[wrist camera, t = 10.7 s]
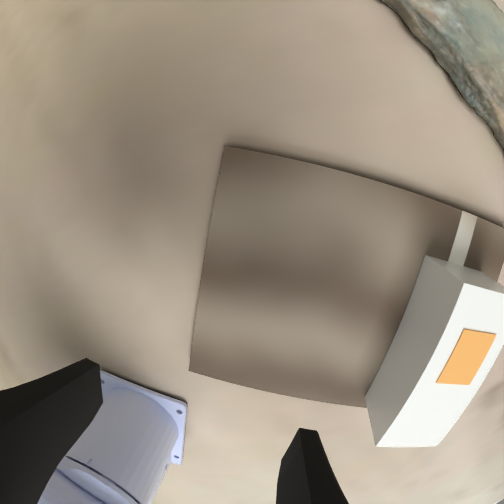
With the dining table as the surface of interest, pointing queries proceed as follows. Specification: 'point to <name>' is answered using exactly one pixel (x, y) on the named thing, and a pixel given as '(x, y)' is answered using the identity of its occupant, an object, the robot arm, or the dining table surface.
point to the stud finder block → (437, 355)
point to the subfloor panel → (317, 274)
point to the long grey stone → (464, 48)
